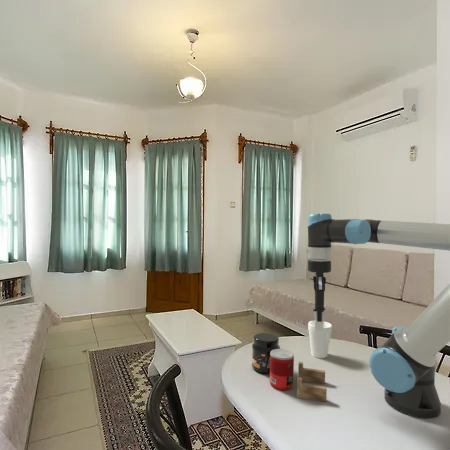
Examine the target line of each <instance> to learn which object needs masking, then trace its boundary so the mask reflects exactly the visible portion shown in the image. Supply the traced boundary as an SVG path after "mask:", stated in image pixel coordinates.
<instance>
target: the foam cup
mask: <svg viewBox="0 0 450 450" xmlns="http://www.w3.org/2000/svg"><path fill="white" fill-rule="evenodd" d="M307 325H308V326H307V329H308V333H309V334H308V335H309V336H308V337H309V343H310V345H309V346H310V352H311V355H312V357H314V358H317V359H325V357H326V358H327V357H328V354H329V348H330V347H329V346H330V341H331V335H332V331H333V325H332V323H330V322H328V321H324V327H323V331H315V320H310V321H308V323H307Z"/></svg>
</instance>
